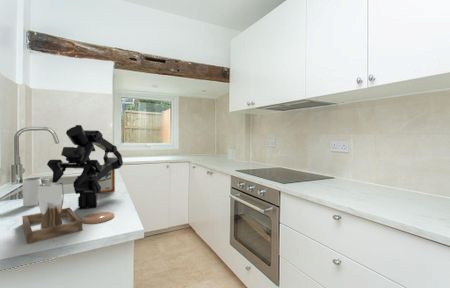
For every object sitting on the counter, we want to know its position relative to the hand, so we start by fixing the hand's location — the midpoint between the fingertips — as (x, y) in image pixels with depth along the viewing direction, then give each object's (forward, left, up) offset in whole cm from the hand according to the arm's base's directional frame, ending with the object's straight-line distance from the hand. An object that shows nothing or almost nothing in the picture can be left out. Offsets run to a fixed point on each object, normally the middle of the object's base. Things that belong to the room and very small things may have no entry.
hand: (65, 183), depth 85 cm
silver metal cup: (+3, +7, -14) cm, 16 cm away
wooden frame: (+3, +7, -13) cm, 15 cm away
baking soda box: (-11, -42, -14) cm, 45 cm away
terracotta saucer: (-11, +4, -13) cm, 18 cm away
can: (+17, -27, -14) cm, 35 cm away
